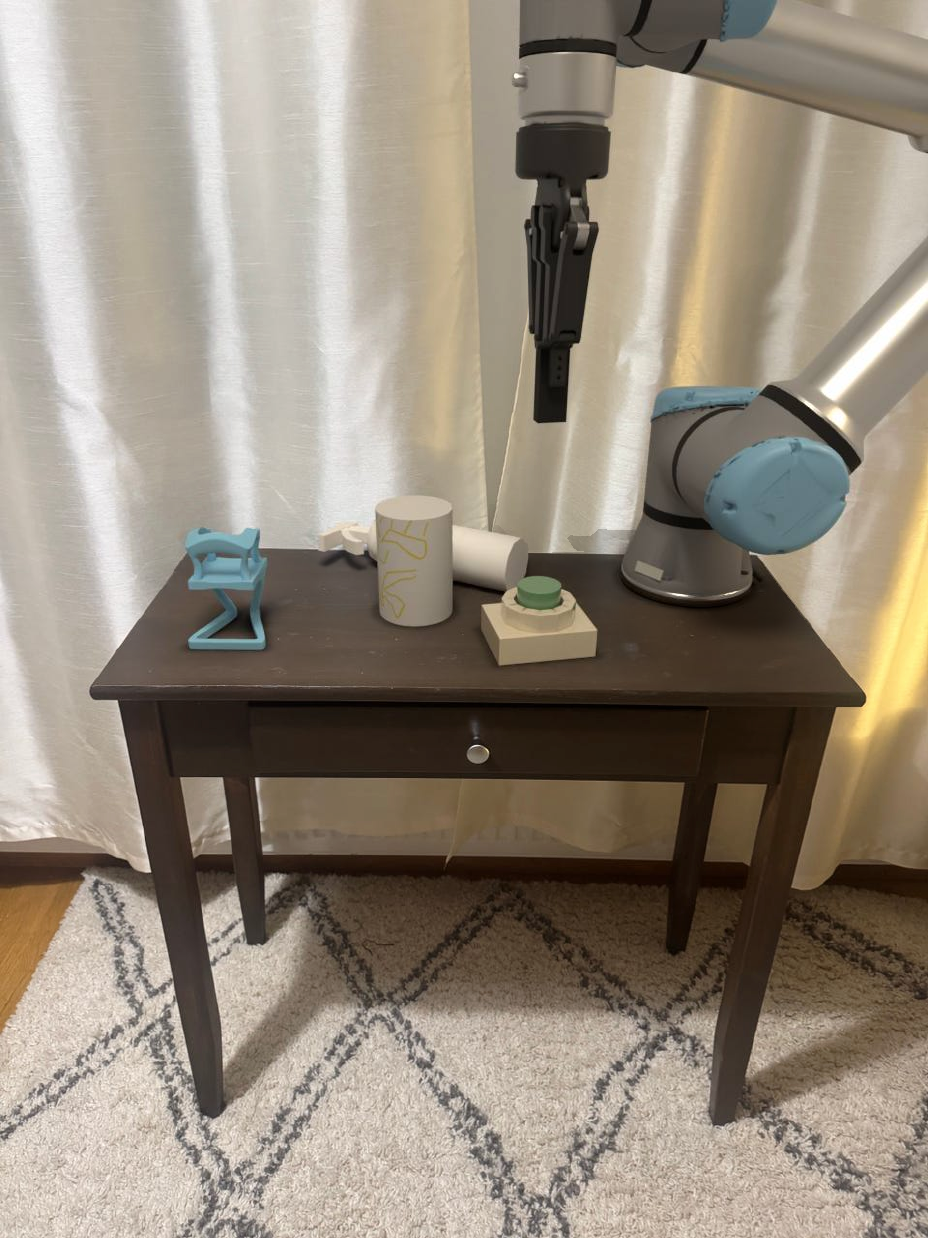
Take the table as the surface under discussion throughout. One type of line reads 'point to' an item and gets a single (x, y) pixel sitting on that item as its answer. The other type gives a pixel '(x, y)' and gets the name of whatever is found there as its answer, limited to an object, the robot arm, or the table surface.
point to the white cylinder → (415, 559)
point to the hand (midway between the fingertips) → (549, 420)
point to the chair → (227, 582)
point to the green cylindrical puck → (539, 593)
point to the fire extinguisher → (473, 553)
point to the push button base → (537, 631)
